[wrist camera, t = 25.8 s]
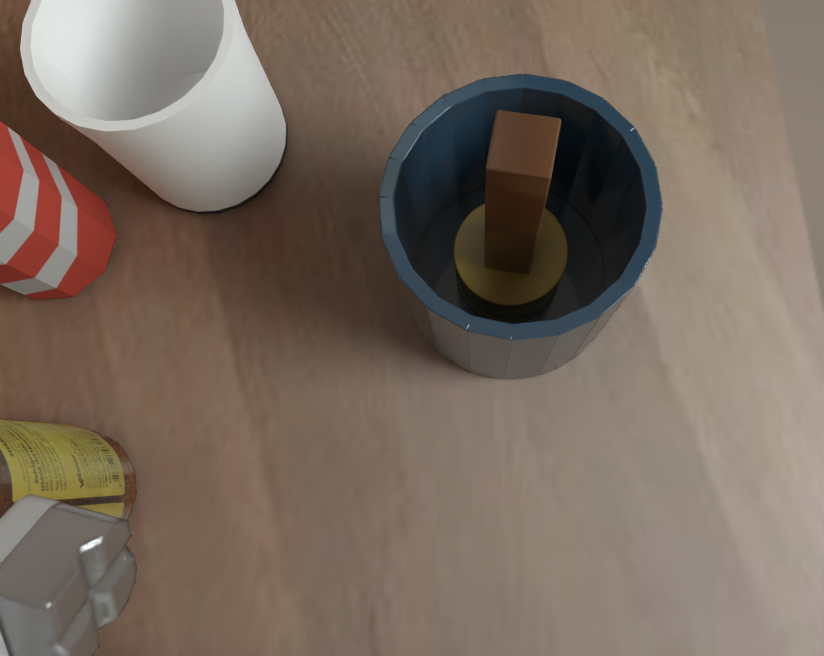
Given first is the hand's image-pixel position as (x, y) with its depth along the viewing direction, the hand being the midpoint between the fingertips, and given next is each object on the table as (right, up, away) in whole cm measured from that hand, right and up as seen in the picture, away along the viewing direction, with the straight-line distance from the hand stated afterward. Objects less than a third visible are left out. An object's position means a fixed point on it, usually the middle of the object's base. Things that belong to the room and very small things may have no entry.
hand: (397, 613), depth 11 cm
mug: (-10, +15, +30) cm, 35 cm away
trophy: (+5, +7, +26) cm, 27 cm away
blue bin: (+5, +7, +27) cm, 28 cm away
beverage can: (-18, +8, +29) cm, 36 cm away
